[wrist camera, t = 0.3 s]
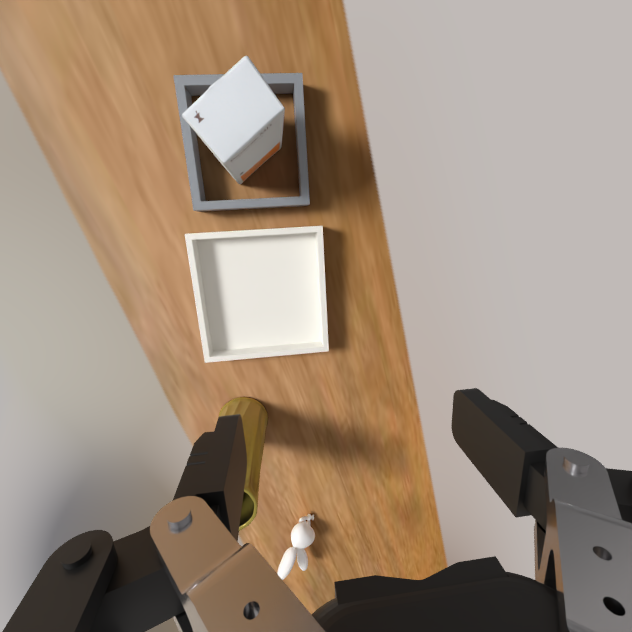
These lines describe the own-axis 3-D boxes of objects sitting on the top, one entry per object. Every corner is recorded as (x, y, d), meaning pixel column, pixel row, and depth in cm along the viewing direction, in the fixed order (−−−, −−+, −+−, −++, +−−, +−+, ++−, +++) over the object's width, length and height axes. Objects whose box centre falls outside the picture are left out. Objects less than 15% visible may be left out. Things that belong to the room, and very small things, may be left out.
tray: (191, 233, 36) (184, 233, 33) (319, 225, 37) (322, 225, 35) (209, 354, 39) (205, 362, 37) (325, 343, 41) (328, 351, 38)
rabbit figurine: (329, 517, 48) (312, 579, 46) (308, 505, 50) (292, 563, 48) (304, 519, 43) (284, 588, 41) (283, 506, 46) (264, 570, 44)
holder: (181, 86, 32) (173, 75, 30) (300, 84, 33) (302, 72, 31) (199, 211, 35) (193, 210, 33) (307, 205, 36) (309, 204, 34)
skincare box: (240, 186, 35) (221, 166, 24) (211, 151, 34) (177, 113, 22) (284, 147, 35) (286, 108, 23) (256, 111, 33) (244, 50, 22)
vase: (277, 413, 42) (276, 502, 29) (248, 447, 43) (234, 549, 30) (238, 387, 41) (218, 468, 27) (209, 422, 42) (174, 518, 28)
